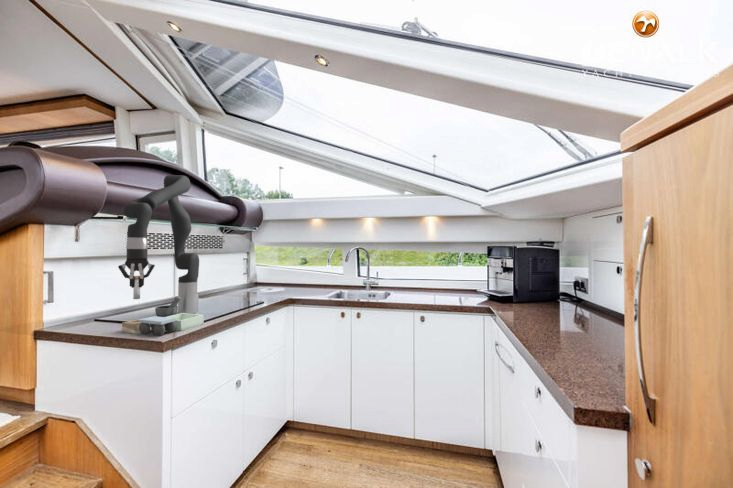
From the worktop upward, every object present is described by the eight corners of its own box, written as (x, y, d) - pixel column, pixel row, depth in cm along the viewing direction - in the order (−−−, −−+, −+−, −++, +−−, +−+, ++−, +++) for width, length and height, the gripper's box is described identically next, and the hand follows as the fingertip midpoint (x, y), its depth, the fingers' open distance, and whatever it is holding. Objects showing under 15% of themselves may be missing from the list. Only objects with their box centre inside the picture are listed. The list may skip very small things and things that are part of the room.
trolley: (138, 333, 137) (138, 319, 138) (153, 329, 144) (153, 316, 144) (161, 336, 134) (162, 321, 134) (176, 332, 141) (176, 318, 141)
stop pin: (137, 298, 144) (137, 275, 144) (141, 298, 143) (141, 275, 143) (131, 299, 142) (132, 276, 142) (136, 299, 141) (136, 276, 141)
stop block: (137, 327, 147) (137, 319, 147) (149, 329, 145) (149, 320, 145) (122, 331, 140) (122, 322, 140) (134, 333, 138) (134, 323, 138)
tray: (181, 322, 159) (181, 313, 159) (203, 324, 155) (203, 314, 155) (157, 328, 146) (158, 318, 146) (181, 331, 142) (181, 320, 142)
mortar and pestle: (151, 323, 155) (152, 298, 156) (158, 319, 164) (158, 295, 164) (178, 322, 159) (178, 297, 159) (183, 318, 168) (183, 294, 168)
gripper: (156, 247, 149) (156, 285, 149) (119, 247, 142) (118, 287, 142) (155, 248, 143) (154, 287, 143) (115, 248, 136) (115, 289, 136)
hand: (136, 287), depth 143 cm, fingers closed on stop pin, 2 cm apart
